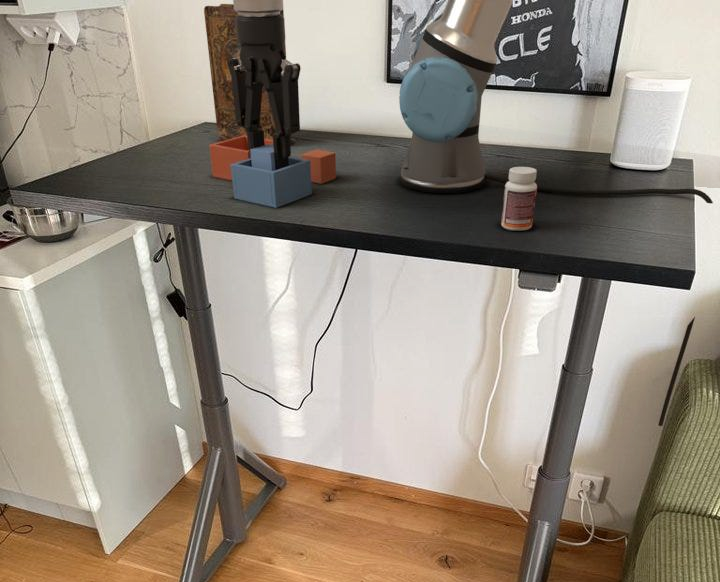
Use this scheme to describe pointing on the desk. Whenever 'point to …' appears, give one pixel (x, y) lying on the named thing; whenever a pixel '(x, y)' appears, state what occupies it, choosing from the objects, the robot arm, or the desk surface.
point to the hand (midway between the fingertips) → (271, 174)
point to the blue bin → (272, 182)
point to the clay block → (321, 165)
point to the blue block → (263, 157)
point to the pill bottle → (519, 199)
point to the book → (220, 51)
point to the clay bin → (229, 155)
